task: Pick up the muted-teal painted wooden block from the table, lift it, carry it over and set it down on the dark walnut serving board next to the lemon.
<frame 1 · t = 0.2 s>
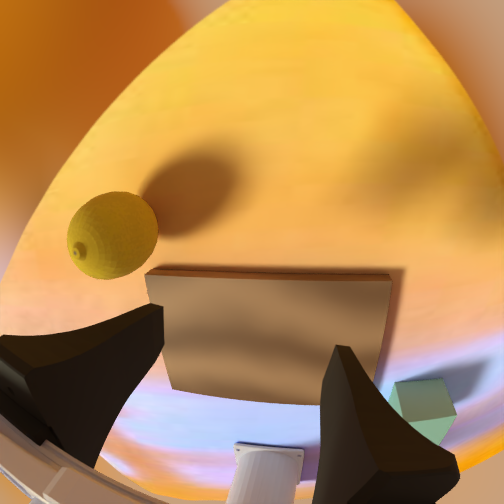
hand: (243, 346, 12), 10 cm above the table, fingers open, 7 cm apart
block: (412, 398, 22), on the table
board: (265, 341, 23), on the table
lemon: (145, 219, 22), on the table
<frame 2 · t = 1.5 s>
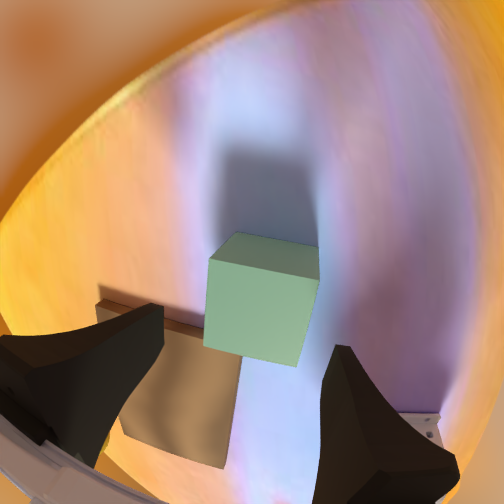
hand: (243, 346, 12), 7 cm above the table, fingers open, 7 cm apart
block: (270, 277, 18), on the table
board: (170, 397, 24), on the table
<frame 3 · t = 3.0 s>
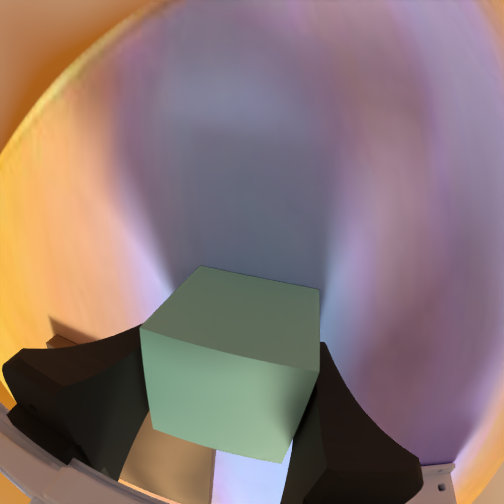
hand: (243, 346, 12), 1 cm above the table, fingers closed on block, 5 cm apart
block: (250, 328, 13), on the table, touching gripper
board: (142, 443, 19), on the table
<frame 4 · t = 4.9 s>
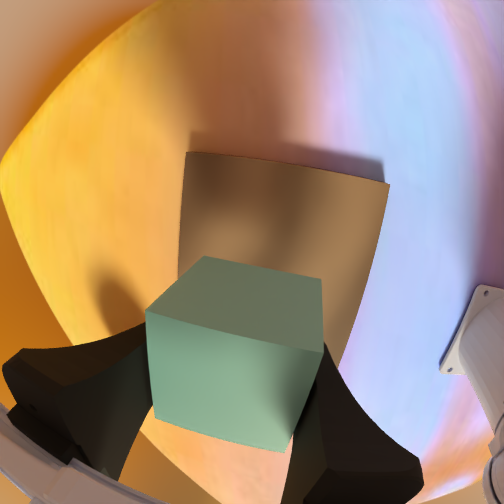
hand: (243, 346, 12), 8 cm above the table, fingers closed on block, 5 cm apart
block: (253, 318, 13), point 7 cm above the table, touching gripper
board: (266, 298, 20), on the table
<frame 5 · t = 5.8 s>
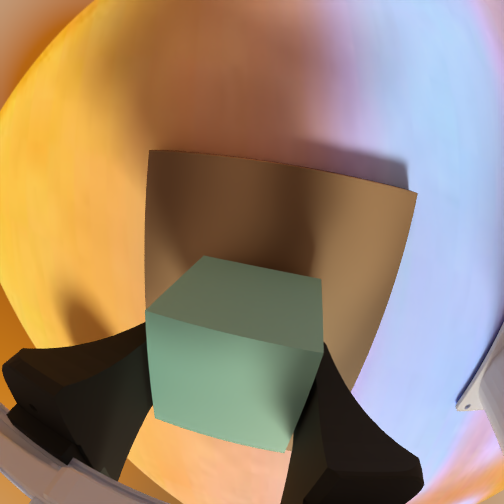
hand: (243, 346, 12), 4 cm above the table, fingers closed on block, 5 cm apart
block: (253, 318, 13), point 2 cm above the table, touching gripper
board: (255, 333, 16), on the table
when the fingers open (4 cm above the table, at t = 6.7 s): block stays where it is, resting on board.
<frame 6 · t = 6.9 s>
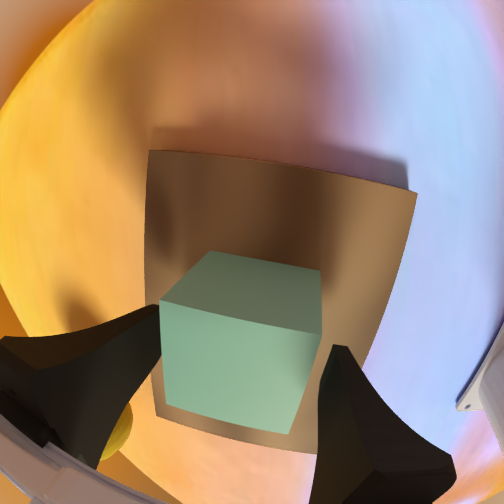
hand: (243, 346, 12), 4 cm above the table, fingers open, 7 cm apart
block: (257, 309, 14), point 1 cm above the table, touching board
board: (255, 333, 16), on the table
lemon: (120, 386, 20), on the table
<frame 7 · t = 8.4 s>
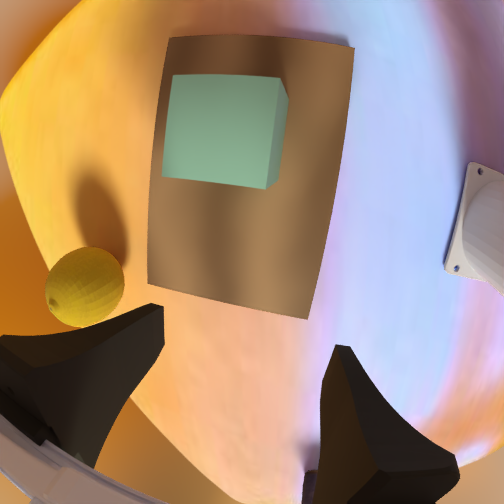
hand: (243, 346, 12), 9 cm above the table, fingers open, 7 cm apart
block: (242, 134, 17), point 1 cm above the table, touching board
board: (241, 170, 19), on the table
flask: (336, 477, 28), on the table
lemon: (116, 266, 23), on the table
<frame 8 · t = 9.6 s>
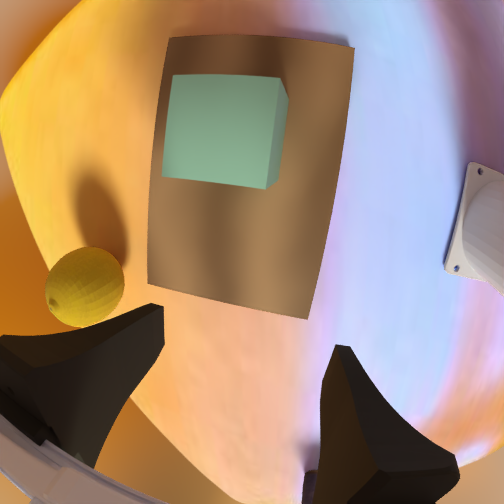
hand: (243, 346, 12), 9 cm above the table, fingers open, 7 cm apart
block: (242, 134, 17), point 1 cm above the table, touching board
board: (241, 170, 19), on the table
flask: (336, 477, 28), on the table
lemon: (116, 266, 23), on the table
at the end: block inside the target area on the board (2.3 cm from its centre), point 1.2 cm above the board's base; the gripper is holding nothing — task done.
